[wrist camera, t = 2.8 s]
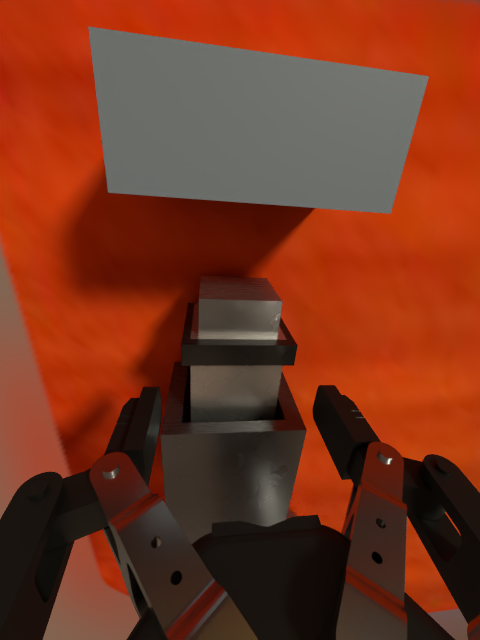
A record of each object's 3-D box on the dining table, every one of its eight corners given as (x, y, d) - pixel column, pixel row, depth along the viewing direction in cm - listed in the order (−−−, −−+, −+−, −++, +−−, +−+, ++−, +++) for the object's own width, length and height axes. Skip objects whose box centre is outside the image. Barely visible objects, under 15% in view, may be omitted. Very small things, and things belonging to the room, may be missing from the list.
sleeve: (264, 455, 26) (281, 537, 20) (178, 459, 25) (168, 547, 19) (278, 362, 21) (306, 430, 15) (174, 362, 20) (160, 435, 14)
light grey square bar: (253, 456, 25) (265, 522, 20) (189, 459, 24) (185, 528, 19) (276, 276, 18) (303, 309, 13) (188, 273, 17) (180, 306, 12)
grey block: (317, 205, 17) (390, 213, 10) (150, 192, 16) (108, 192, 9) (331, 127, 15) (428, 76, 8) (145, 106, 14) (88, 26, 7)
